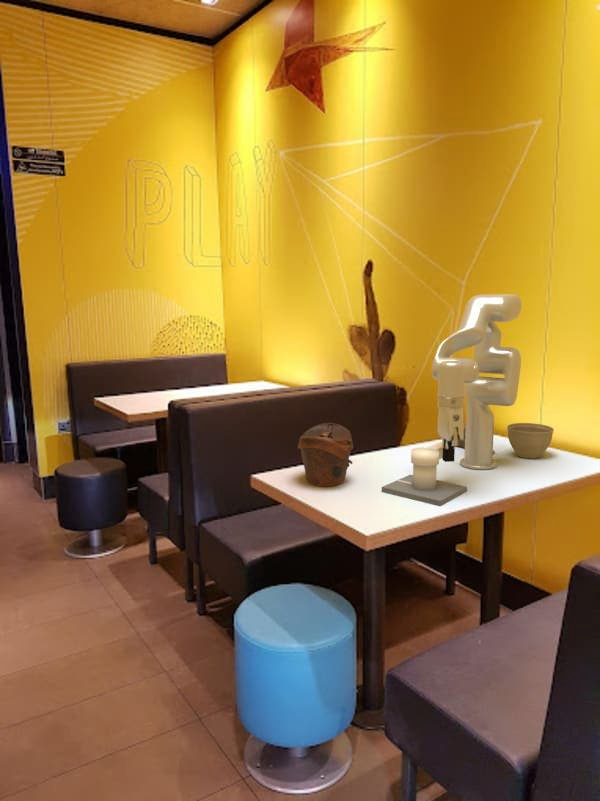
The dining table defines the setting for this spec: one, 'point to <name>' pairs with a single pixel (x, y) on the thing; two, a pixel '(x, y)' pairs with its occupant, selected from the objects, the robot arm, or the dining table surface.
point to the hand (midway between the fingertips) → (448, 460)
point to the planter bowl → (529, 439)
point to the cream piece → (427, 455)
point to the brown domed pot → (326, 454)
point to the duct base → (425, 495)
